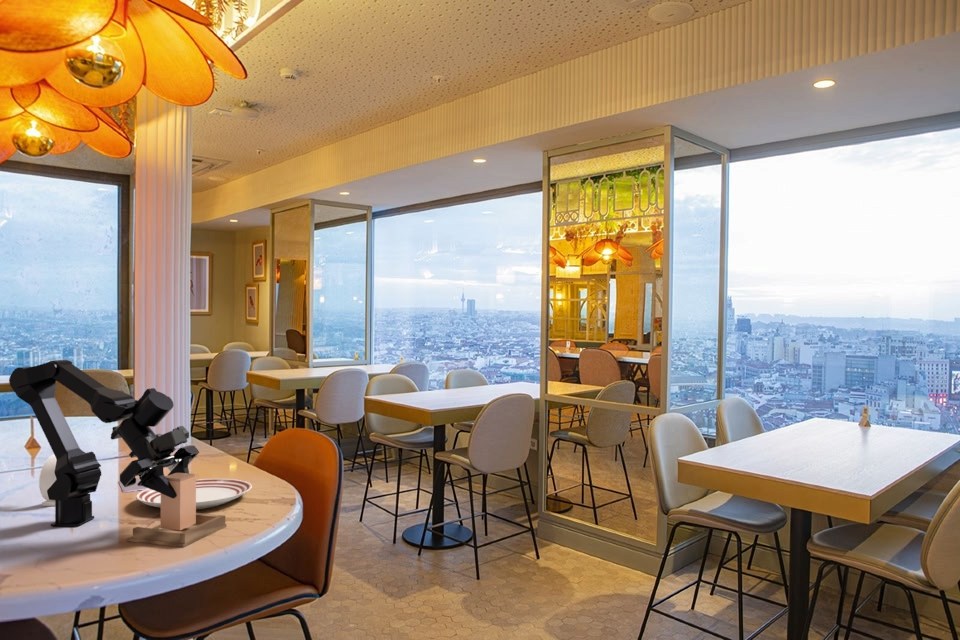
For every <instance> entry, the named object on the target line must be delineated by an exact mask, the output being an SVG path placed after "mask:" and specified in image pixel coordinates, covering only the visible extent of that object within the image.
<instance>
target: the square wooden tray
mask: <svg viewBox="0 0 960 640" xmlns="http://www.w3.org/2000/svg"><path fill="white" fill-rule="evenodd" d="M226 527H227V523H226V515H222V514H211V513H201V512H196V523H195V524H193V525H191V526H189V527H186V528H184V529H182V530H173V529H164V528H161V524H159V525H156V526H154V527H152V528H151V527H141V526H136V527H134V528H132V536H130V537H129V536H128V537H127V542H133V543H142V544H152V545H161V546H168V547H169V546H170V547H176V548H177V547H178V548H186V547H188V546H189V545H191V544H194V543H195V542H198V541H199V540H202V539H204V538H206V537H208V536H209V535H212V534H214V533H216V532H218V531H220V530H223V529H224V528H226Z"/></svg>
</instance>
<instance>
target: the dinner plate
mask: <svg viewBox="0 0 960 640" xmlns="http://www.w3.org/2000/svg"><path fill="white" fill-rule="evenodd" d="M252 487H253V485H252V484H251V482H249V481H245V480H240V479H236V478H200V479H197V478H196V510H205V509H209V508H214V507H217V506H222V505H225V504H227V503H229V502H231V501H234V500H235V499H237V498H238V499H239V497H241V496H243V495H244V494H246V493H247V492H249V491H250V490H251V489H252ZM135 499H136V500H137V501H138V502H140V503H143V504H144V505H147V506H150V507H154V508H160V509H161V493H159V492H157V491H154V490H152V489H149V488H148V489H145V490H143V491H139V492H138V493H137V494H136V497H135Z"/></svg>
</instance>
